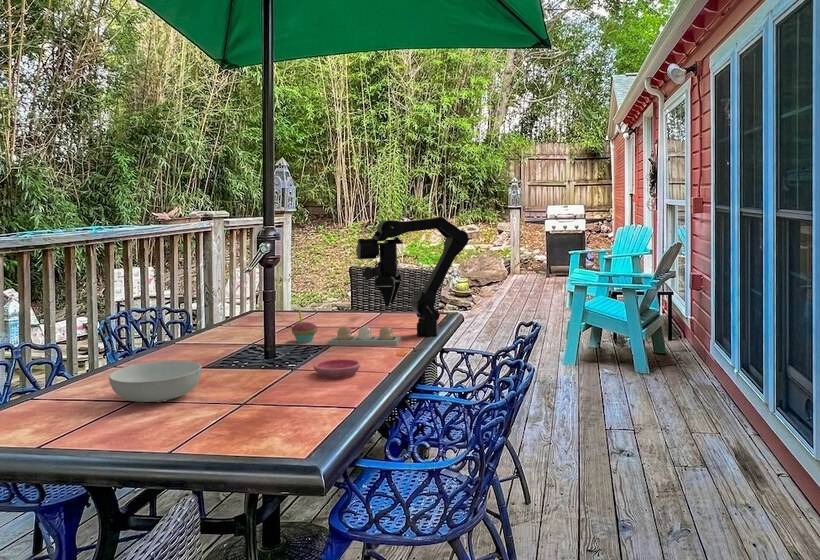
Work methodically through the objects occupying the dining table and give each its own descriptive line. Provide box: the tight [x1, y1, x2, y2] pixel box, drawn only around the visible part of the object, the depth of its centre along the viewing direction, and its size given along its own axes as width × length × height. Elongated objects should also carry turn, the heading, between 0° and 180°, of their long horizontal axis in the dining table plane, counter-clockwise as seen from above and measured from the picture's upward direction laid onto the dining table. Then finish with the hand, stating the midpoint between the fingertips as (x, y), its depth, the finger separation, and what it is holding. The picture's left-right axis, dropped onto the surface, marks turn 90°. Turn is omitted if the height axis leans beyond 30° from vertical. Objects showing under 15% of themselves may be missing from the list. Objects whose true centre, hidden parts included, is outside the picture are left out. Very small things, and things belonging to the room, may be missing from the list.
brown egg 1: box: [336, 326, 352, 340], centre depth 223 cm, size 4×4×5 cm
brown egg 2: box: [378, 325, 394, 340], centre depth 221 cm, size 4×4×5 cm
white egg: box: [357, 325, 373, 340], centre depth 222 cm, size 4×4×5 cm
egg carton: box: [327, 335, 402, 347], centre depth 222 cm, size 22×8×2 cm, turn 81°
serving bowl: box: [108, 360, 202, 403], centre depth 164 cm, size 21×21×7 cm
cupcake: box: [290, 307, 318, 344], centre depth 227 cm, size 9×8×12 cm
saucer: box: [313, 358, 361, 380], centre depth 183 cm, size 12×12×3 cm
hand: (389, 304), depth 228 cm, fingers open, 9 cm apart
